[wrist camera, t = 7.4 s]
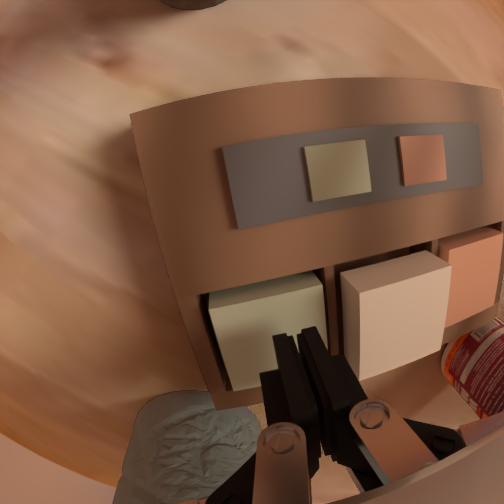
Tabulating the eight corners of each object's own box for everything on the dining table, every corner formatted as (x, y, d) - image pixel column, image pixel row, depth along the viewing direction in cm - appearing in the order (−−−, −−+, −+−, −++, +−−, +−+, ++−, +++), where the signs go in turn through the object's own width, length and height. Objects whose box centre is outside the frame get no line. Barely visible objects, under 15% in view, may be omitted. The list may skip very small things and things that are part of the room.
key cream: (425, 250, 13) (451, 265, 11) (420, 329, 14) (440, 349, 12) (340, 272, 13) (359, 293, 11) (344, 355, 14) (359, 381, 12)
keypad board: (470, 92, 13) (506, 89, 10) (472, 301, 17) (499, 321, 15) (145, 120, 12) (126, 112, 9) (215, 378, 17) (216, 417, 14)
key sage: (308, 266, 14) (322, 284, 12) (317, 345, 15) (328, 369, 13) (209, 287, 14) (208, 309, 12) (231, 365, 15) (233, 391, 13)
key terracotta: (480, 223, 14) (503, 232, 12) (474, 291, 16) (493, 305, 14) (425, 238, 14) (449, 250, 12) (421, 312, 16) (440, 329, 14)
